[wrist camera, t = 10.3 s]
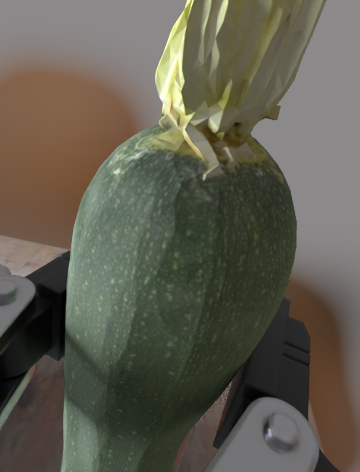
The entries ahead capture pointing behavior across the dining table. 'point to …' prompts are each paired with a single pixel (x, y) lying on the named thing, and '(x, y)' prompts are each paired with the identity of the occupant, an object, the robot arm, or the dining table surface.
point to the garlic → (4, 270)
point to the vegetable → (182, 241)
